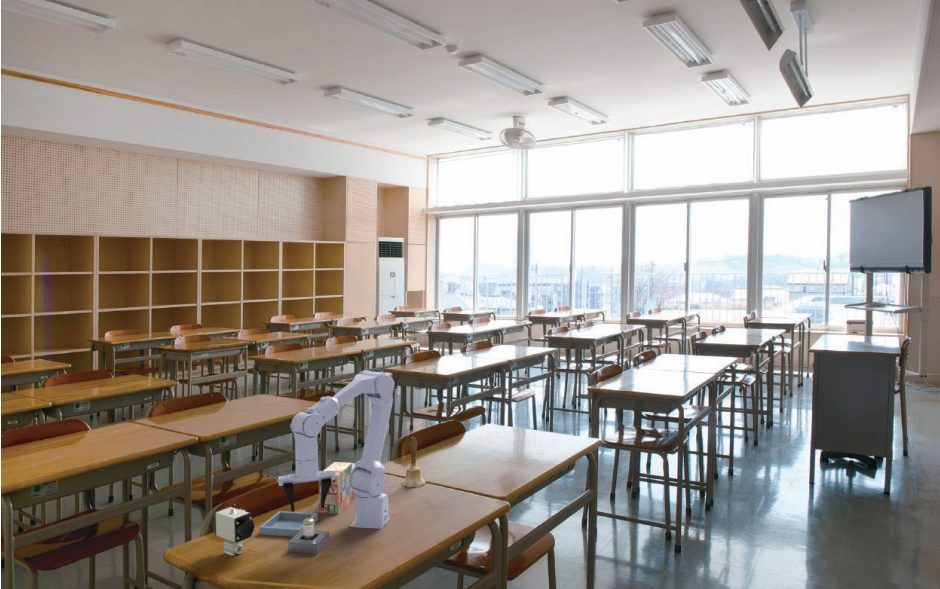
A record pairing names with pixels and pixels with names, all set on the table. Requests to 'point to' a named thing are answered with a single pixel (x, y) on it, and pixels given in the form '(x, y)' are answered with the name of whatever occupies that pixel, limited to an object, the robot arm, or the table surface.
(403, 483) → the hand bell
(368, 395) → the robot arm
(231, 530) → the pneumatic valve
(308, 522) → the small glass bottle
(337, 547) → the table surface
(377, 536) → the table surface
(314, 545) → the block
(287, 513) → the tray
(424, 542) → the table surface
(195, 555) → the table surface
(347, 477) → the stack of blocks
